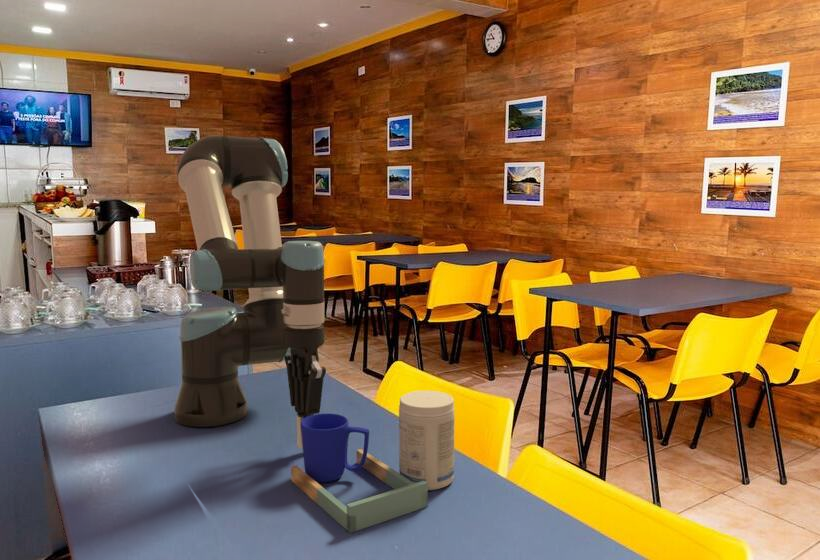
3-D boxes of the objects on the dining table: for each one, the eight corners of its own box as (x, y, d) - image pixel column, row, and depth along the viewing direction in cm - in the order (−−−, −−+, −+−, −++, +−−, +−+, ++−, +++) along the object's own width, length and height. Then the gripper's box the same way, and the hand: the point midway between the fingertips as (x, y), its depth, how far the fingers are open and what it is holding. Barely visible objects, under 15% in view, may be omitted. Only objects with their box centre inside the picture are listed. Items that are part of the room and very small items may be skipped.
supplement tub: (444, 465, 114) (446, 388, 112) (461, 489, 105) (463, 405, 103) (392, 471, 112) (393, 391, 110) (405, 495, 103) (406, 409, 101)
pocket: (317, 503, 99) (317, 480, 99) (390, 481, 107) (391, 459, 107) (350, 533, 91) (350, 507, 90) (427, 506, 99) (427, 482, 98)
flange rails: (291, 480, 107) (290, 466, 107) (361, 461, 115) (361, 448, 115) (317, 503, 99) (317, 489, 99) (390, 481, 107) (390, 468, 107)
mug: (362, 491, 104) (362, 433, 103) (294, 484, 106) (293, 427, 105) (374, 470, 112) (375, 416, 110) (311, 464, 114) (310, 411, 113)
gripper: (271, 320, 119) (273, 439, 122) (300, 333, 108) (302, 462, 111) (306, 316, 123) (308, 431, 126) (338, 328, 112) (339, 453, 115)
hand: (305, 446), depth 118 cm, fingers closed
